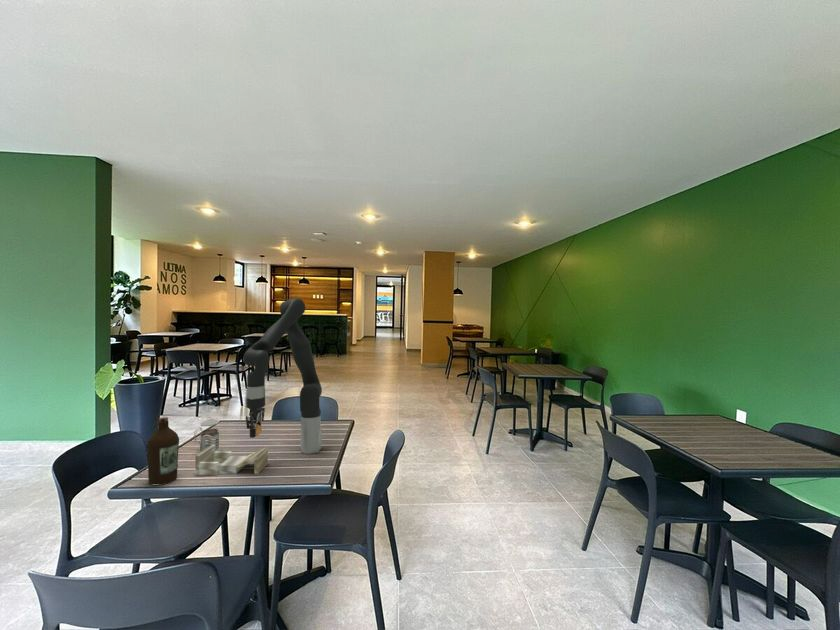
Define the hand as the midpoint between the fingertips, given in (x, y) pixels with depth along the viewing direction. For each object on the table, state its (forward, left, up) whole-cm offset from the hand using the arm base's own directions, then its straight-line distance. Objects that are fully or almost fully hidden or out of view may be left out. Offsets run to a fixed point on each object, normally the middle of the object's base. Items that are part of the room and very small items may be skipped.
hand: (255, 434), depth 158 cm
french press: (+31, -19, -15) cm, 39 cm away
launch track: (+9, 0, -15) cm, 18 cm away
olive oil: (+32, +11, -15) cm, 37 cm away
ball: (0, 0, +2) cm, 2 cm away
